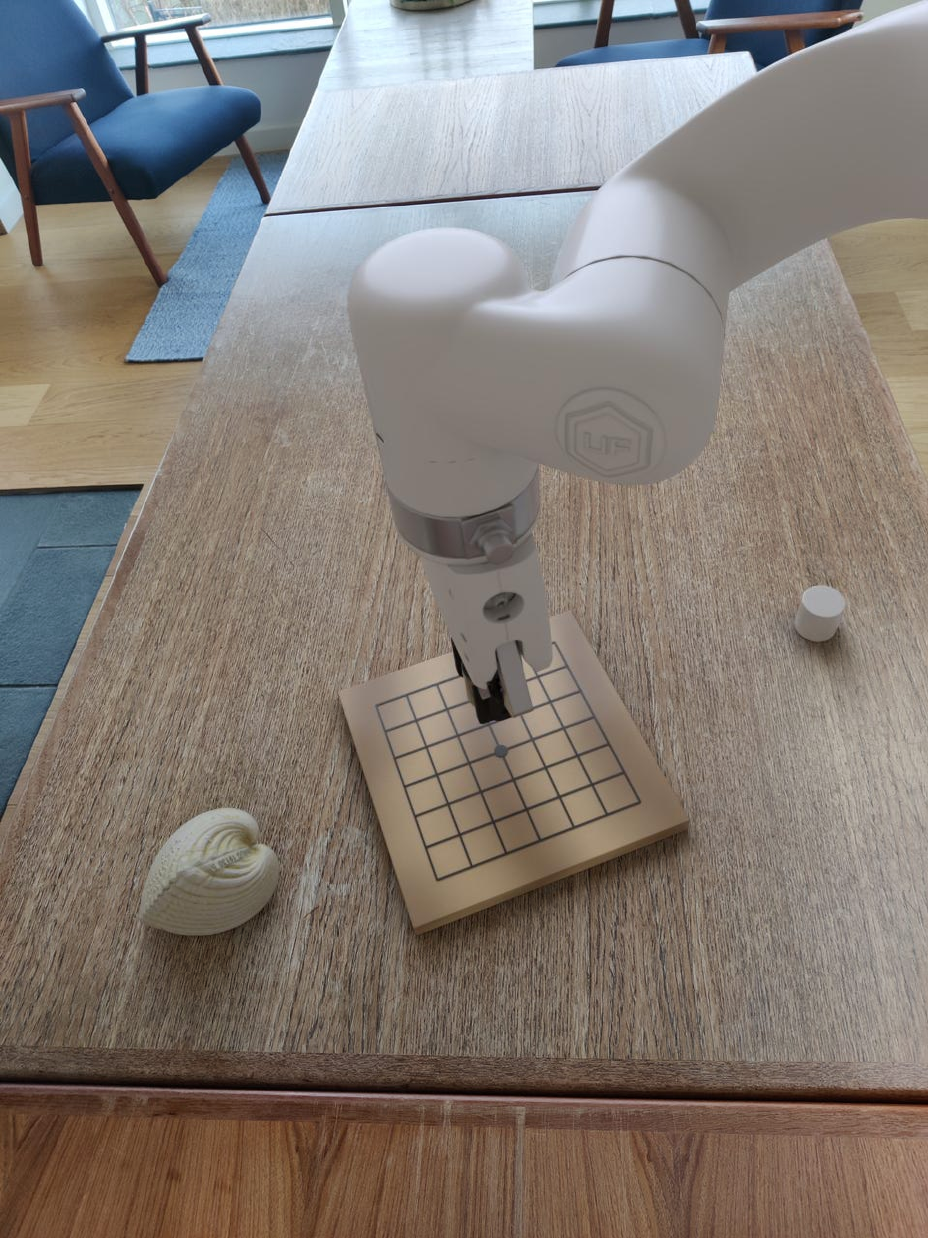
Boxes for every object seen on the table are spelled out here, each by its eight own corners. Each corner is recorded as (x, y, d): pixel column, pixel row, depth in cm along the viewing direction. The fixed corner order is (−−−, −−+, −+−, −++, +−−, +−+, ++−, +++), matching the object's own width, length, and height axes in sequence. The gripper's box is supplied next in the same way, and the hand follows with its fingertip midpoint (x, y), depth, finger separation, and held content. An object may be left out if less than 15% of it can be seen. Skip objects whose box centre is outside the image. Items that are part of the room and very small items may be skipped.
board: (570, 620, 74) (570, 608, 72) (688, 829, 61) (690, 819, 60) (341, 701, 71) (337, 690, 70) (416, 936, 59) (413, 928, 58)
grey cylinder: (821, 605, 72) (830, 579, 69) (844, 634, 70) (854, 609, 67) (786, 618, 72) (794, 592, 69) (808, 647, 70) (817, 622, 67)
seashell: (309, 880, 60) (205, 937, 54) (260, 918, 65) (162, 973, 59) (253, 776, 61) (147, 821, 56) (210, 821, 67) (110, 866, 61)
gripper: (604, 582, 40) (595, 774, 54) (477, 375, 49) (498, 585, 64) (446, 636, 39) (480, 817, 53) (349, 414, 48) (400, 618, 63)
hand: (490, 688), depth 58 cm, fingers closed on black stone, 3 cm apart
